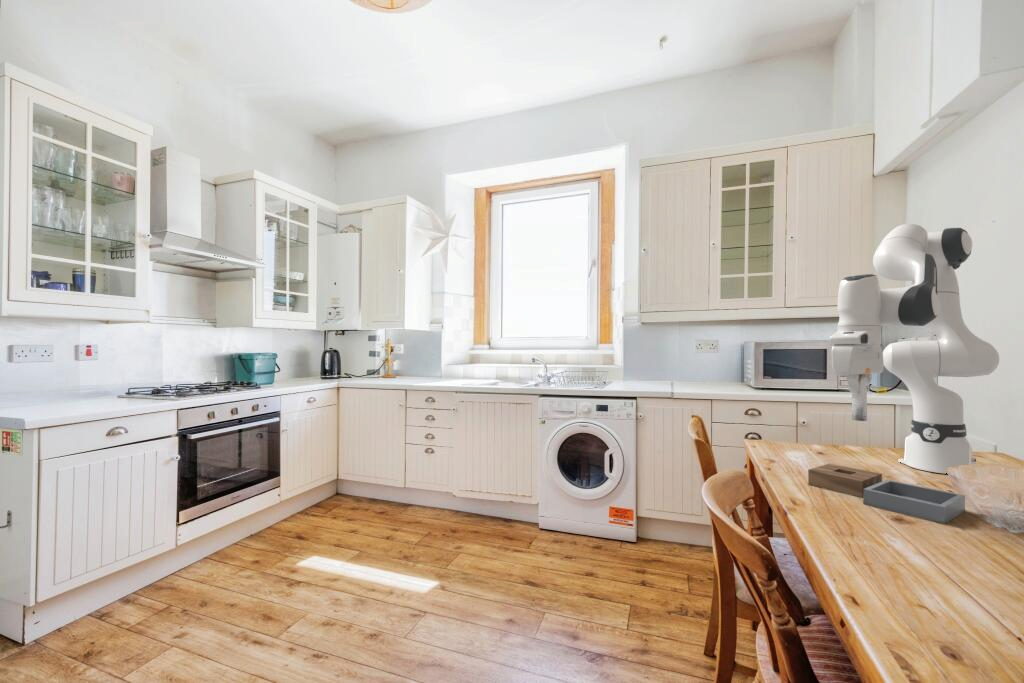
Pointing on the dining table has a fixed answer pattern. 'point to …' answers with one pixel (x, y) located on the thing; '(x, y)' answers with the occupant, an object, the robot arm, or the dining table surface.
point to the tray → (915, 500)
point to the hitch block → (843, 479)
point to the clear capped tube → (860, 399)
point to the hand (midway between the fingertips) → (859, 392)
